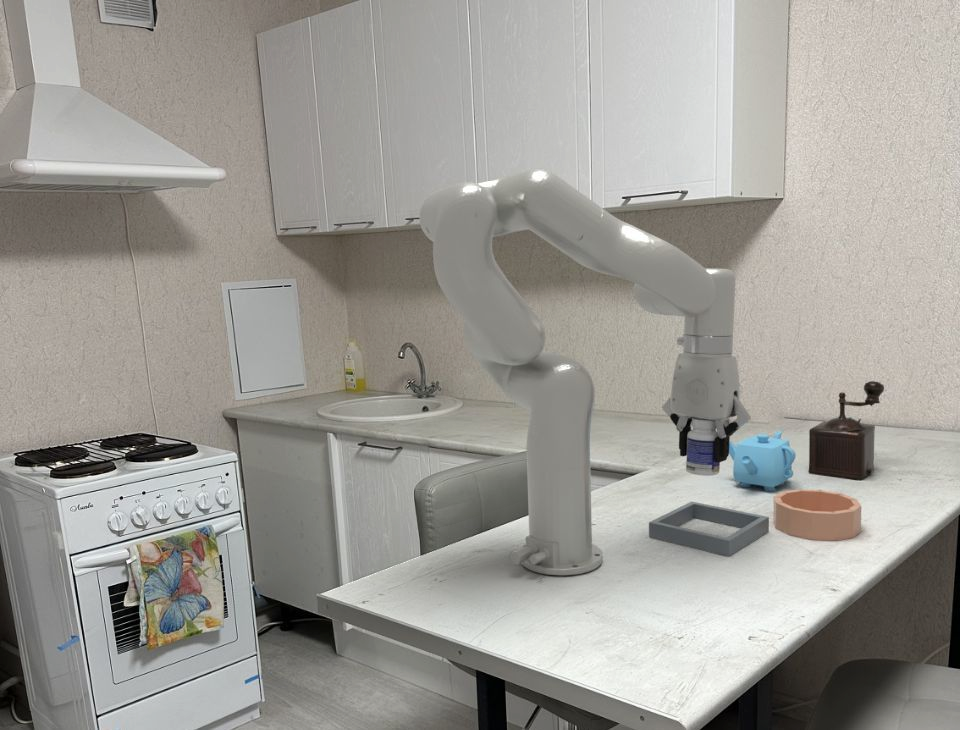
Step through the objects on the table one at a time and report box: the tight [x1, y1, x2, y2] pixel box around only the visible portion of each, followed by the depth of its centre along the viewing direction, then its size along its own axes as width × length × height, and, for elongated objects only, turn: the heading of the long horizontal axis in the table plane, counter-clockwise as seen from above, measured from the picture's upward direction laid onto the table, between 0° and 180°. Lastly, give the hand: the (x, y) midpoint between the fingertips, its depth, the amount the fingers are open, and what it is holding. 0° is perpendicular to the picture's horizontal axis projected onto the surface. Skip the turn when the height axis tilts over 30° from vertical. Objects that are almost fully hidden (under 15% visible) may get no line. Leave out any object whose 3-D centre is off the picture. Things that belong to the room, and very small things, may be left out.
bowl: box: [772, 489, 862, 542], centre depth 131 cm, size 13×13×4 cm
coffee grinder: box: [808, 380, 885, 481], centre depth 164 cm, size 16×11×18 cm
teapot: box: [729, 430, 797, 492], centre depth 156 cm, size 18×14×10 cm
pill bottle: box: [685, 417, 721, 477], centre depth 128 cm, size 5×5×9 cm
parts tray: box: [648, 501, 770, 558], centre depth 130 cm, size 14×14×2 cm
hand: (703, 456), depth 128 cm, fingers closed on pill bottle, 5 cm apart
